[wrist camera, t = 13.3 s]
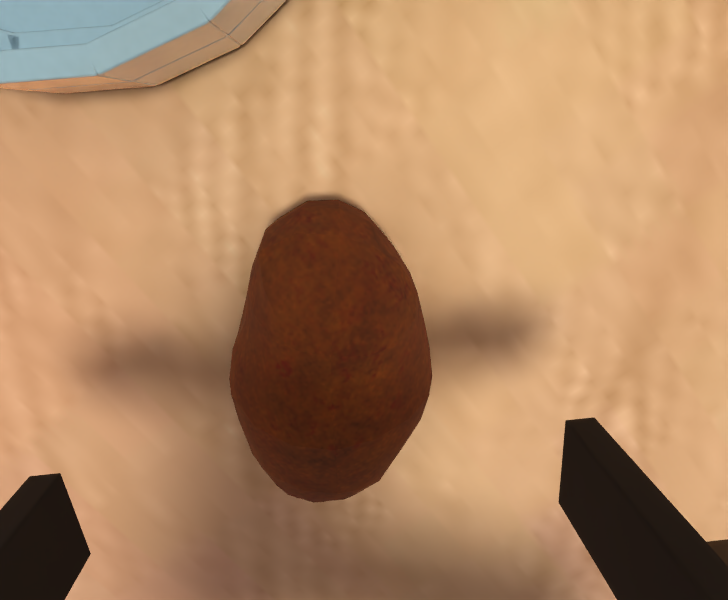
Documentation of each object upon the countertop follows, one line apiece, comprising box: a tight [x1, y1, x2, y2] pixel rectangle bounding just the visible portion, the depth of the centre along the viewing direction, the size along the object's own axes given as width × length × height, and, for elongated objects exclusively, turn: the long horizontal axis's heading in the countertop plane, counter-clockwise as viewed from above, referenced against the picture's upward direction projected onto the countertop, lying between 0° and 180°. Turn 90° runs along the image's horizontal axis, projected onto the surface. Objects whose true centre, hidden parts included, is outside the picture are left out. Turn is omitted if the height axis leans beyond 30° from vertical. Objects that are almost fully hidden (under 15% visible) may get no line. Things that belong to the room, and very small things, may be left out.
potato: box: [229, 200, 432, 502], centre depth 18 cm, size 8×12×8 cm, turn 179°
